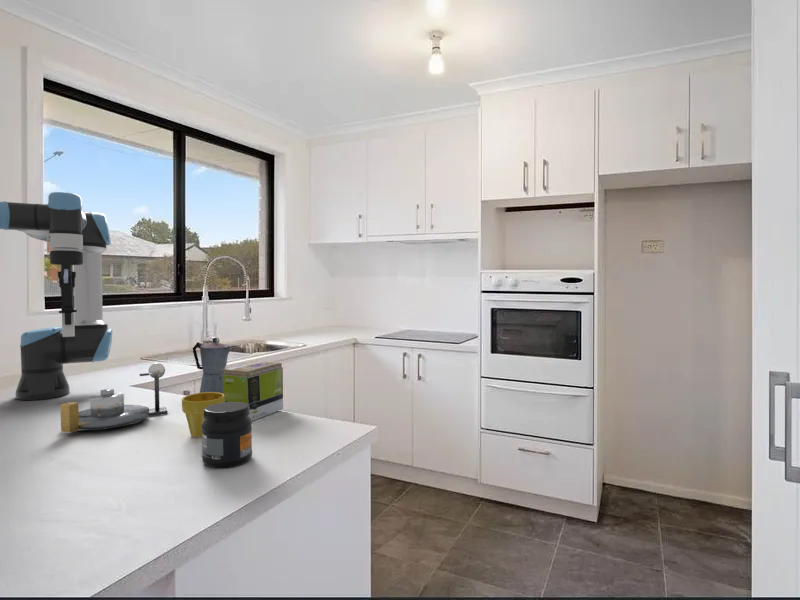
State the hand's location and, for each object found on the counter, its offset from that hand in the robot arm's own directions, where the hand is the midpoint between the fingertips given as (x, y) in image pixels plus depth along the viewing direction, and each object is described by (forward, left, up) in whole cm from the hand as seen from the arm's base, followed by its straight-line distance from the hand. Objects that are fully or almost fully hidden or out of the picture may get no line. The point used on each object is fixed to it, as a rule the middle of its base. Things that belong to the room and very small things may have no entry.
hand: (68, 336), depth 134 cm
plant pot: (+28, +30, -25) cm, 48 cm away
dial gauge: (0, +20, -24) cm, 32 cm away
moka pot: (-16, +40, -25) cm, 50 cm away
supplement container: (+51, +31, -25) cm, 65 cm away
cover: (+5, +9, -22) cm, 24 cm away
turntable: (+6, +8, -23) cm, 25 cm away
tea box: (+16, +46, -25) cm, 55 cm away
